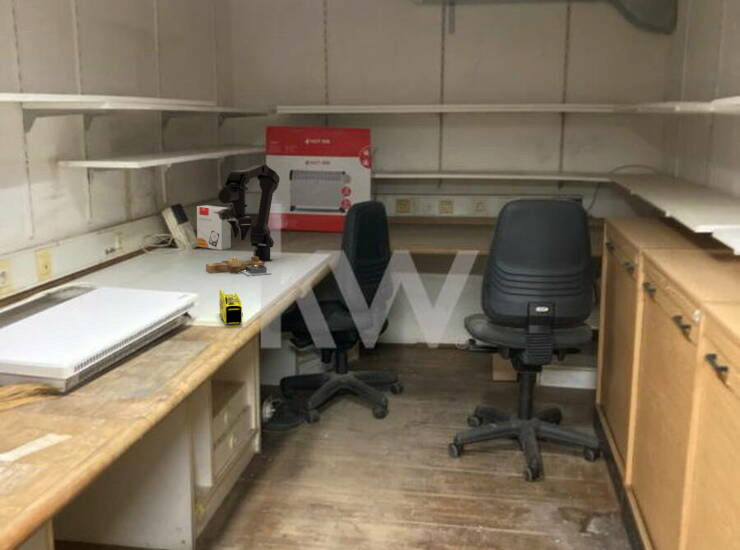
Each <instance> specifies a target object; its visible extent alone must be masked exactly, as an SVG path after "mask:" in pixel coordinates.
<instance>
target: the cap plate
mask: <svg viewBox="0 0 740 550" xmlns="http://www.w3.org/2000/svg"><path fill="white" fill-rule="evenodd" d="M267 271H268V268H267V267H266V266H265V265H264V266H262V265H250V266H246V272H248V273H250V274H259V273H267Z"/></svg>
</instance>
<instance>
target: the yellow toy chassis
mask: <svg viewBox="0 0 740 550" xmlns="http://www.w3.org/2000/svg"><path fill="white" fill-rule="evenodd" d="M218 297H219V301H218V305H219V312H220V314H219V317H220V320H222V321H223V322H224V324H225V325H239V324H243V316H244V313H243V304H242V303H243V302H242V300H241V299H240V297H239V295H238V293H237V292H235V293H234V294H233V293H231V294H230V293H227V294H226V293H225V292H224V290H222V288H220V289H219V296H218Z"/></svg>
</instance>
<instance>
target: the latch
mask: <svg viewBox="0 0 740 550" xmlns="http://www.w3.org/2000/svg"><path fill="white" fill-rule="evenodd" d="M227 261H228V263H229V265H230V266H232V267H237V266H241V261H242V259H240V258H238V257H237V256H233V257H231V258H228V259H227Z"/></svg>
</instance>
